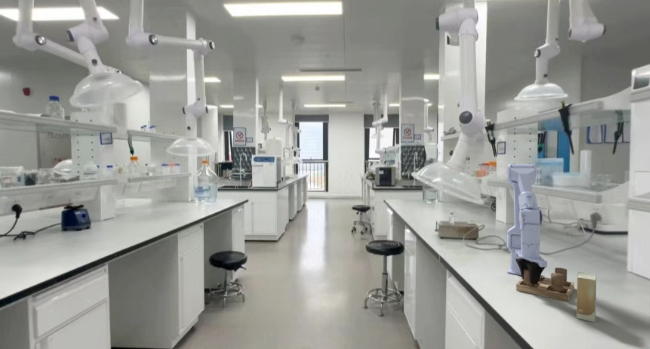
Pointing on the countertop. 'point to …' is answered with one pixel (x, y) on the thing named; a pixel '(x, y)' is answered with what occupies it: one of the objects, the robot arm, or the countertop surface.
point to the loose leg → (527, 279)
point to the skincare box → (586, 296)
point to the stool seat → (550, 286)
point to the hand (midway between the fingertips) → (529, 281)
